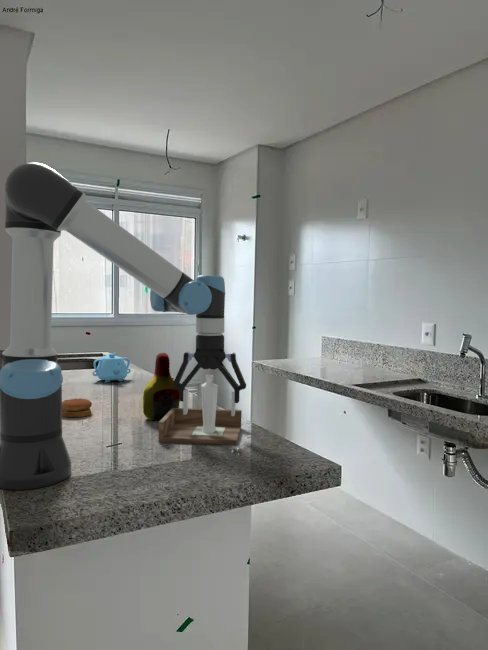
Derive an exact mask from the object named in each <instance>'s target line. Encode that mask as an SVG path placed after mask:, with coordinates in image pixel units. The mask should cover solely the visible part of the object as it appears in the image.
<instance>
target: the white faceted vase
mask: <svg viewBox="0 0 488 650" xmlns="http://www.w3.org/2000/svg"><path fill="white" fill-rule="evenodd" d="M213 381H214V375H213V374H206V375H205V382H203V383H202V384H200V390H201V392H200V394H201V406H202V407H201V409H202V411H203V428H202V431H203V432H204V433H213V432H215V431H216V427H215V417H216V409H217V403H218V401H217V400H218V390H219V385H218V384H216V383H215V382H213Z"/></svg>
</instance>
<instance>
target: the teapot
mask: <svg viewBox="0 0 488 650" xmlns="http://www.w3.org/2000/svg"><path fill="white" fill-rule="evenodd" d="M125 360H126V361H127V363H125ZM97 362H98V364H97ZM130 363H131V361H130V359H129V358H128V357H125V356H124V357H122V356H117V355H116V353H108V355H104V356H102V357H101V358H96V359H95V360H94V361H93V368H94V370H93V372H92V376H93V377H97V378H98V379H99V380H100V381H101V380H105V381H104V383H105V382H110V383H111V381H117V382H118V381H123V382H124V379H126V378H127V376H128V374H130V373H131V369H130V368H129V367H130Z"/></svg>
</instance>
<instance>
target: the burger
mask: <svg viewBox="0 0 488 650" xmlns="http://www.w3.org/2000/svg"><path fill="white" fill-rule="evenodd" d="M92 405H93V403H92V402H91V400H89V399H86V398H70V399H66V400H62V418H83V417H88V416H90V415H91V414H92V411H91V407H92Z"/></svg>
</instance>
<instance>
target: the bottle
mask: <svg viewBox="0 0 488 650" xmlns="http://www.w3.org/2000/svg"><path fill="white" fill-rule="evenodd" d="M154 363H155V364H154V373H153V377H152V378H151V379H150V380H149V382H148V383H147V384H146V385H145V387H144V389H143V391H142V401H141V404H142V413H143V415H144V416H145V417H146V419H147V420H150V421H157V420H161V419H162V418H163V417H164V416H165V415H166V414H167V413H168V412H169V411H170V410H171V409H172V408H180V402H181V401H180V400H179V389H178V388H176V387H173V382H174V380H175V379H173V378H172V375H171V371H170V370H171V369H170V364H171V363H170V356H169V355H168V354H167V353H166V352H160V353H158V354H157V355H156V357H155V361H154Z"/></svg>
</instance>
